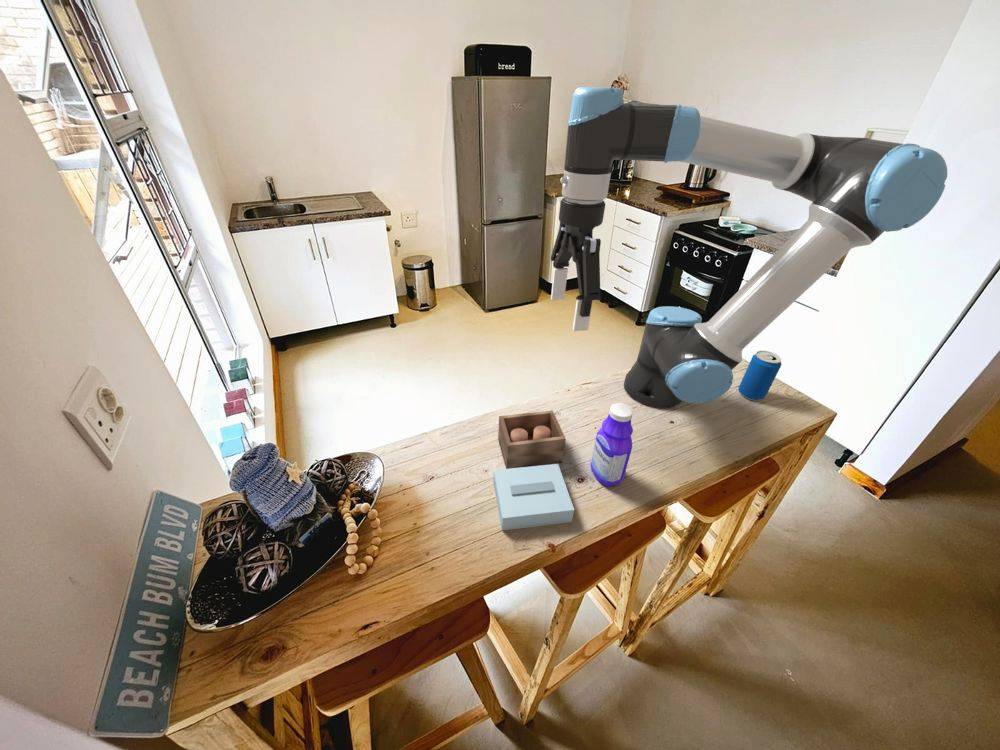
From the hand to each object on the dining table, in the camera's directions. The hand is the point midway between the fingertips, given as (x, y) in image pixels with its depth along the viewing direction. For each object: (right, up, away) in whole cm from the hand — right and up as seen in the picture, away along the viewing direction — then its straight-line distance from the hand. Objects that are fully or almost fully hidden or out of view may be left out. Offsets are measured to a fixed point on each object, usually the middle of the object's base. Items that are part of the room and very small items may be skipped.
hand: (567, 313), depth 81 cm
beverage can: (+53, -18, +28) cm, 62 cm away
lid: (-8, -37, -2) cm, 38 cm away
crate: (-7, -29, +9) cm, 31 cm away
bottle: (+8, -33, +4) cm, 34 cm away
